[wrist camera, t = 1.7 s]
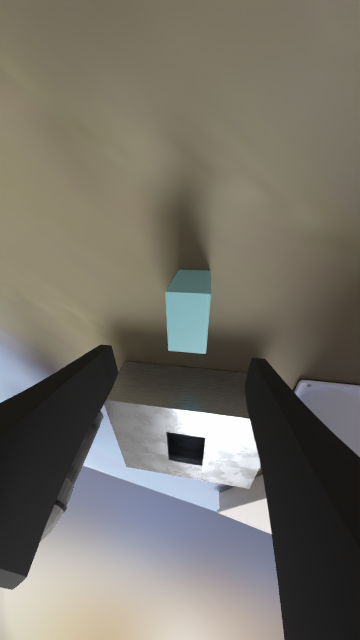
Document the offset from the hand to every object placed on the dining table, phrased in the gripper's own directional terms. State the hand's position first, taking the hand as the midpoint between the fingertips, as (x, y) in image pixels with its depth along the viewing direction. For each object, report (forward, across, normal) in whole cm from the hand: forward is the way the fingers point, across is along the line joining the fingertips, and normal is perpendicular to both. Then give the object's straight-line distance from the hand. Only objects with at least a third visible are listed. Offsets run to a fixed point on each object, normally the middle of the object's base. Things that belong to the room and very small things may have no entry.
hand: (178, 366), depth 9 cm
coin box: (+10, 0, +18) cm, 21 cm away
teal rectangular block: (+10, 0, 0) cm, 10 cm away
